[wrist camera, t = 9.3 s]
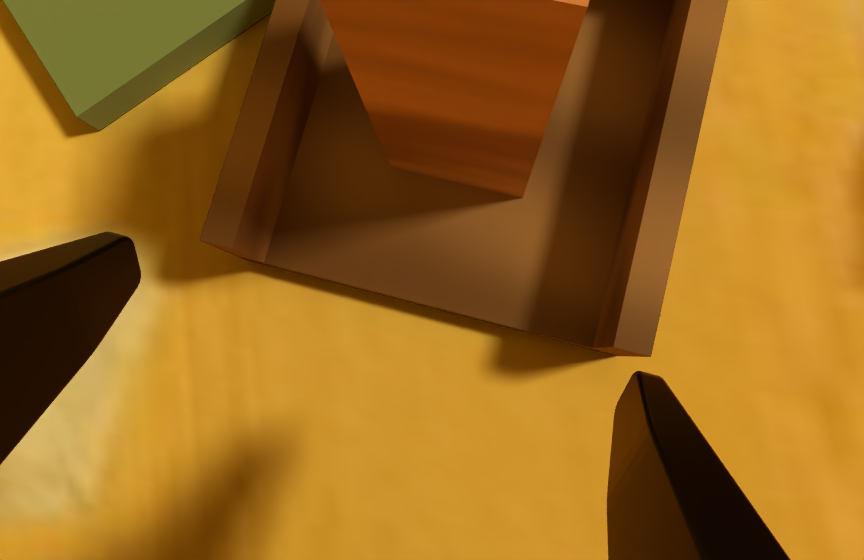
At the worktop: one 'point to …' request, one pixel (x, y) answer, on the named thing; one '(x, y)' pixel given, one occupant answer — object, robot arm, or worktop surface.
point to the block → (459, 81)
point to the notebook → (126, 45)
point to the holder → (475, 207)
